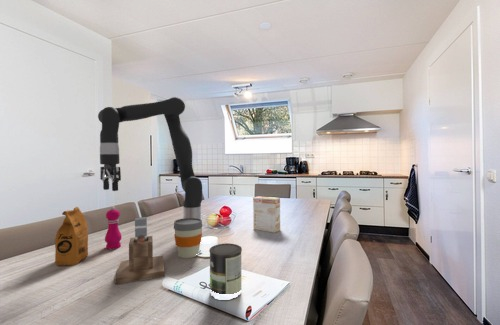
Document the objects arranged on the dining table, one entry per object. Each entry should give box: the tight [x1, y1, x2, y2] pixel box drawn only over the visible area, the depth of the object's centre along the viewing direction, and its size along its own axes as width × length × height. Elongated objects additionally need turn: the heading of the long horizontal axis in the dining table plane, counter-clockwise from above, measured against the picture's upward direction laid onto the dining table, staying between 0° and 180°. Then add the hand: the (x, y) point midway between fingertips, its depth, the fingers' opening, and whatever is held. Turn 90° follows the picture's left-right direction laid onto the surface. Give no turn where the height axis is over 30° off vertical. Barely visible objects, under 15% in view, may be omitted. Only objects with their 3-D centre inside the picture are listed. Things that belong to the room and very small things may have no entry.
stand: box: [114, 235, 165, 285], centre depth 98 cm, size 16×16×14 cm
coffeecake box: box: [252, 195, 281, 234], centre depth 154 cm, size 15×7×20 cm, turn 58°
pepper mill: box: [104, 205, 123, 250], centre depth 125 cm, size 7×7×20 cm
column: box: [134, 216, 148, 242], centre depth 98 cm, size 4×4×18 cm
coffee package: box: [54, 206, 89, 267], centre depth 109 cm, size 10×12×22 cm
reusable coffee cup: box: [173, 218, 203, 259], centre depth 115 cm, size 12×13×15 cm
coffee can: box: [209, 242, 243, 294], centre depth 82 cm, size 10×10×14 cm
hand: (110, 190), depth 113 cm, fingers open, 8 cm apart
